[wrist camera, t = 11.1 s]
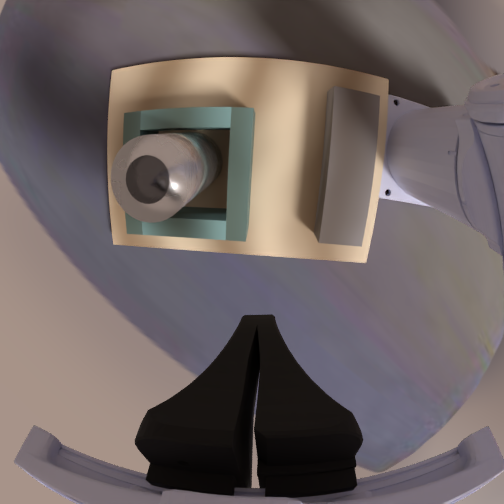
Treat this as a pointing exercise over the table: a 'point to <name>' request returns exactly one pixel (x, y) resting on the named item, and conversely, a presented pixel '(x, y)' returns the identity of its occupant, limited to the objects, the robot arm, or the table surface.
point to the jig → (260, 154)
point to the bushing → (163, 173)
